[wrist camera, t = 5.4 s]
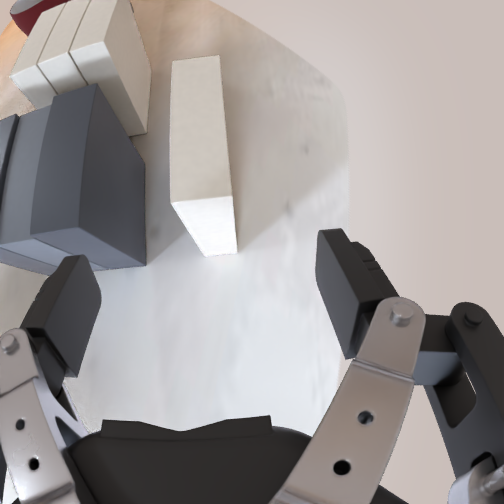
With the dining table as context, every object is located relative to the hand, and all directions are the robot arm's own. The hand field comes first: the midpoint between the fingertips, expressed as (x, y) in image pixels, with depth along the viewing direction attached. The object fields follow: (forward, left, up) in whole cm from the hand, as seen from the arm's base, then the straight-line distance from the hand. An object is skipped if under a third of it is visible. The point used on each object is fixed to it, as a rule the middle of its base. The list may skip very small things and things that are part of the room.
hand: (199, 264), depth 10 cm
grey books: (-13, +1, -14) cm, 19 cm away
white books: (-18, +12, -14) cm, 26 cm away
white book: (-4, +6, -14) cm, 16 cm away
